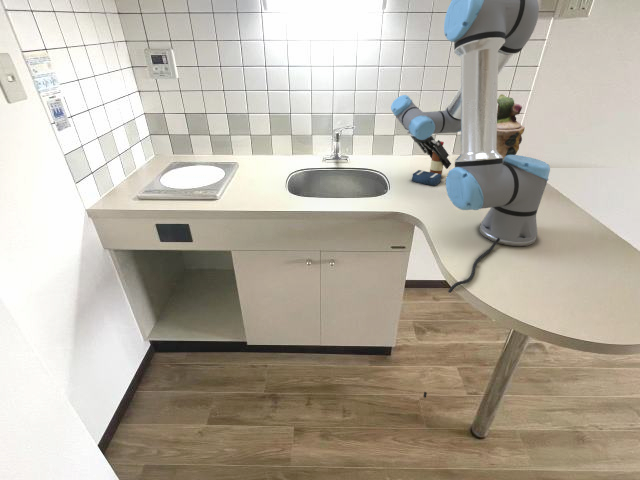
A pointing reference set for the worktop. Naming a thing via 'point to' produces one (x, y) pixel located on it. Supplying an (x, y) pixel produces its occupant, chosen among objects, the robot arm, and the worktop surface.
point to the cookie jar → (508, 126)
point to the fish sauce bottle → (436, 163)
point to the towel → (426, 177)
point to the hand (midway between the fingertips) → (443, 164)
